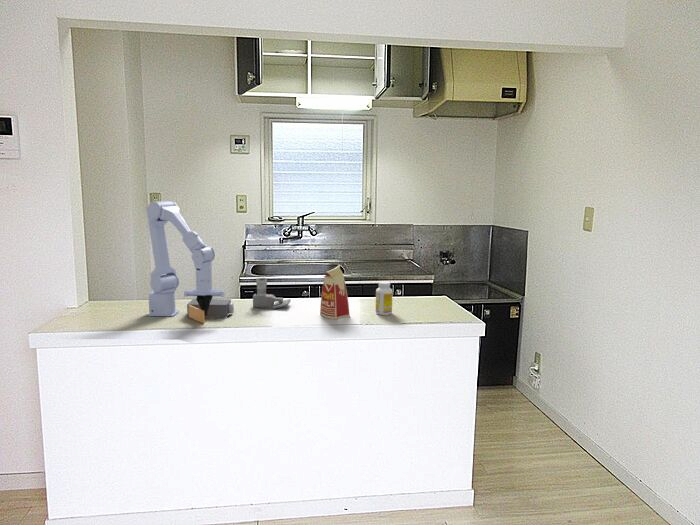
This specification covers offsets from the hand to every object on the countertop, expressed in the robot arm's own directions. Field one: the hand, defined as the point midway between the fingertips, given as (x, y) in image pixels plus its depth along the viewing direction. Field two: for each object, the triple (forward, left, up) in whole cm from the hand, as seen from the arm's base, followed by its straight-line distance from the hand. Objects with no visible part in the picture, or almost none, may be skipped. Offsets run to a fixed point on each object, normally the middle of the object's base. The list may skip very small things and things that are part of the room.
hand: (205, 315), depth 199 cm
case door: (-4, +1, -2) cm, 4 cm away
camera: (+22, +22, -3) cm, 32 cm away
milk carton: (+48, +9, -3) cm, 49 cm away
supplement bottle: (+68, +13, -3) cm, 70 cm away
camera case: (-1, +10, -2) cm, 10 cm away
